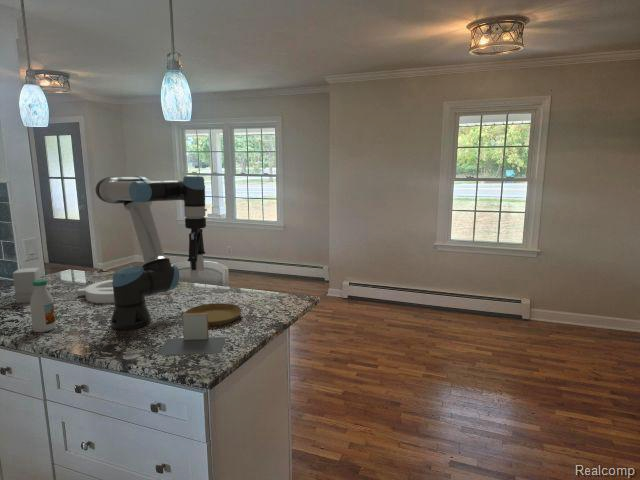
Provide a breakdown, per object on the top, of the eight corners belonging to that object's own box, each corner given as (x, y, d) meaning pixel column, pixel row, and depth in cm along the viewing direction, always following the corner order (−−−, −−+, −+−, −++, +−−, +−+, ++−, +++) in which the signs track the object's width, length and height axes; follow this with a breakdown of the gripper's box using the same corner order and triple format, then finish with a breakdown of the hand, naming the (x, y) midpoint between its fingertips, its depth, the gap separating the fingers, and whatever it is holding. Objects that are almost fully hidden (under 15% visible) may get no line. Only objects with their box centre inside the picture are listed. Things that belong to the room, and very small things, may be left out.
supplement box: (43, 296, 206) (40, 267, 203) (37, 301, 198) (34, 271, 195) (22, 297, 203) (19, 268, 201) (15, 303, 195) (11, 272, 192)
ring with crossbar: (158, 292, 215) (157, 284, 215) (106, 307, 192) (105, 297, 191) (126, 284, 230) (125, 276, 229) (74, 296, 207) (73, 287, 206)
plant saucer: (198, 308, 192) (197, 301, 192) (248, 310, 190) (248, 303, 189) (174, 327, 169) (174, 320, 168) (231, 330, 166) (231, 323, 166)
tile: (183, 340, 155) (182, 315, 153) (184, 339, 156) (183, 313, 154) (207, 339, 156) (207, 314, 154) (208, 338, 157) (207, 313, 155)
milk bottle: (38, 334, 160) (33, 284, 156) (29, 330, 164) (23, 281, 160) (59, 328, 166) (55, 280, 163) (50, 324, 170) (45, 277, 167)
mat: (156, 356, 143) (156, 355, 142) (167, 339, 156) (167, 338, 156) (221, 354, 145) (221, 353, 145) (226, 338, 158) (226, 337, 158)
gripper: (200, 221, 144) (202, 282, 148) (210, 213, 167) (212, 267, 171) (177, 221, 143) (180, 282, 147) (191, 213, 166) (193, 267, 170)
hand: (197, 274), depth 159 cm, fingers open, 11 cm apart
